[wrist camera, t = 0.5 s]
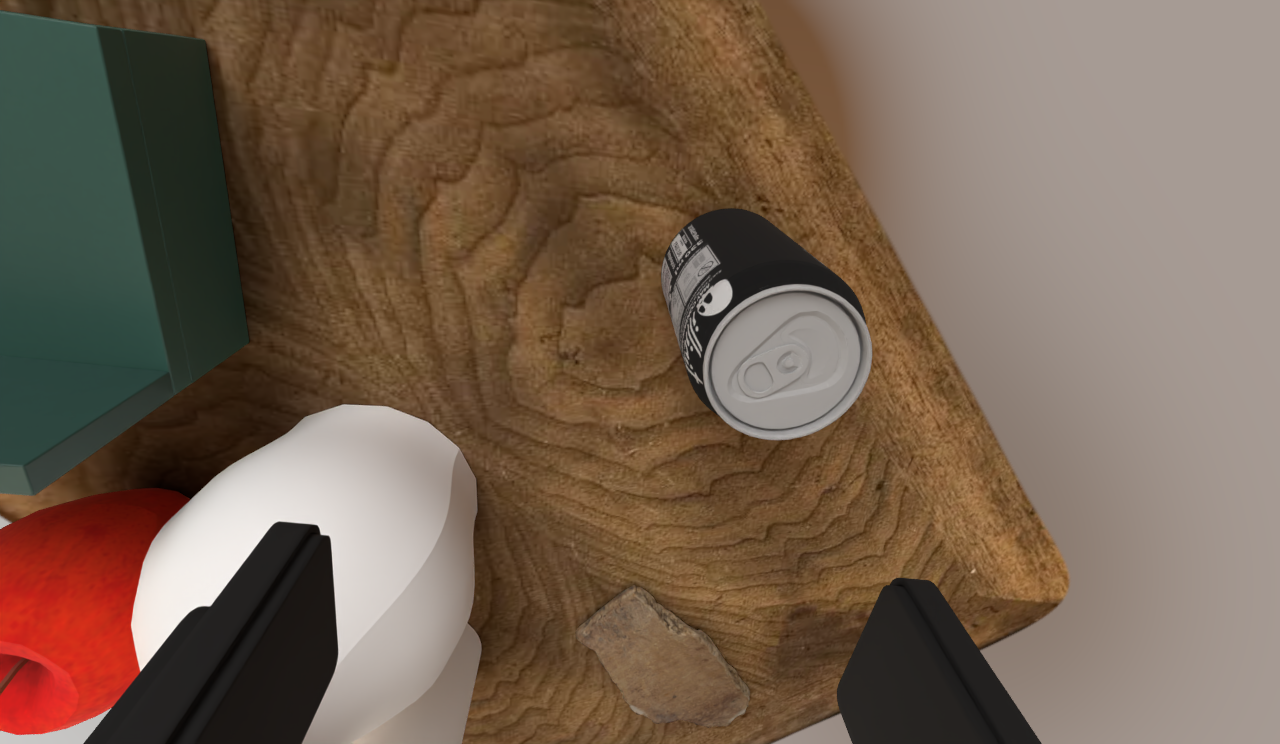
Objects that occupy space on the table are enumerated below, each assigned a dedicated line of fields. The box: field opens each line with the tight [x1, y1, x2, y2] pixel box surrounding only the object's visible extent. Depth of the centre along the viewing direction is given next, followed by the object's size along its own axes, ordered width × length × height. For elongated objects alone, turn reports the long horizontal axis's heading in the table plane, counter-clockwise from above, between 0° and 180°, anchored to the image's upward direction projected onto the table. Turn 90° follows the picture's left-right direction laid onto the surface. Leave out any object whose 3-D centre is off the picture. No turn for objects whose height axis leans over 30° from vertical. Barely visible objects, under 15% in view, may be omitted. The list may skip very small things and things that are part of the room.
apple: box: [0, 488, 191, 735], centre depth 30 cm, size 10×10×12 cm
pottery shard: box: [576, 585, 750, 728], centre depth 42 cm, size 8×3×15 cm
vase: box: [131, 404, 478, 744], centre depth 26 cm, size 14×14×20 cm
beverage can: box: [661, 209, 872, 440], centre depth 25 cm, size 7×7×12 cm
